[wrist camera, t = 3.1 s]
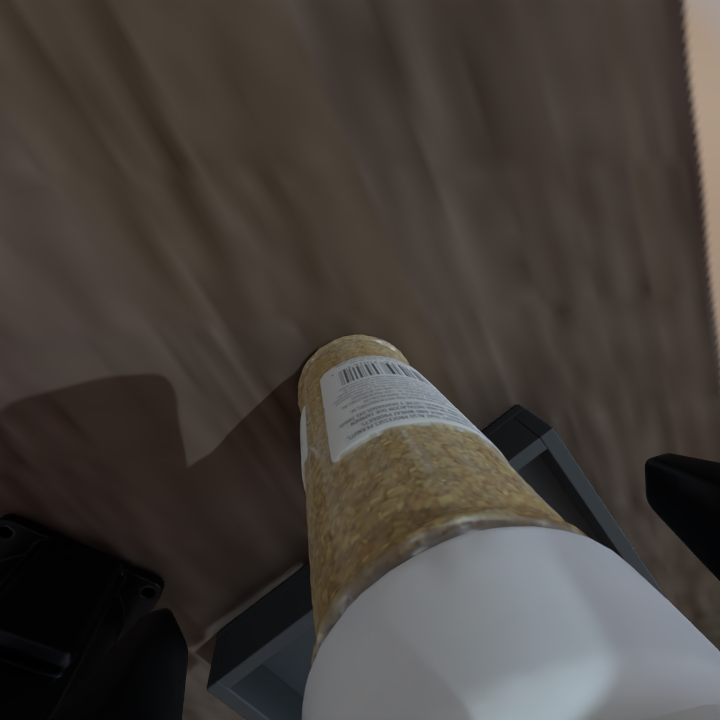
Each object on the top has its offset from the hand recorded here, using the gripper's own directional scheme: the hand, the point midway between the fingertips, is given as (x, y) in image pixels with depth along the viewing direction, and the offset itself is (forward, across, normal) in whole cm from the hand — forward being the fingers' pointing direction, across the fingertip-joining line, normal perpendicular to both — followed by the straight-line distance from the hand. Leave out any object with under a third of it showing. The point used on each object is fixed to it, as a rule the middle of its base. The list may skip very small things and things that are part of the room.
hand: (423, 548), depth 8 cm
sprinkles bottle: (+9, 0, 0) cm, 9 cm away
